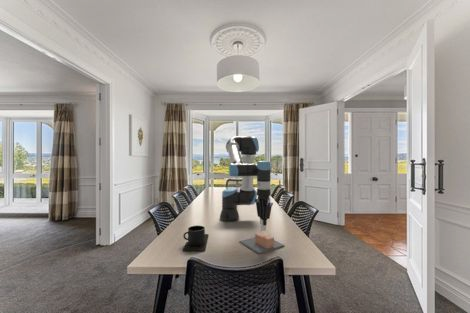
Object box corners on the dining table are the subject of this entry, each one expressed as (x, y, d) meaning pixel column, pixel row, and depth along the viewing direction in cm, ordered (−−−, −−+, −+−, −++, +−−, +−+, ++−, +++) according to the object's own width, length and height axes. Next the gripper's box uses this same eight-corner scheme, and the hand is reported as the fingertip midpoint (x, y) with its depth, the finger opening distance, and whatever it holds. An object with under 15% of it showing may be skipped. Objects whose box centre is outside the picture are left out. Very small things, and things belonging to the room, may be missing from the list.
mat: (239, 242, 131) (239, 240, 131) (263, 236, 141) (263, 234, 141) (259, 254, 116) (259, 252, 116) (284, 246, 126) (284, 244, 126)
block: (255, 233, 129) (266, 239, 121) (262, 232, 132) (273, 237, 123) (255, 242, 129) (266, 248, 121) (261, 240, 132) (273, 246, 124)
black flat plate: (176, 253, 118) (205, 252, 119) (176, 252, 118) (204, 250, 119) (185, 235, 143) (208, 234, 144) (185, 234, 143) (208, 233, 144)
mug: (184, 240, 133) (184, 225, 133) (205, 240, 134) (205, 225, 134) (182, 247, 124) (182, 231, 123) (204, 247, 124) (204, 230, 124)
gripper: (251, 187, 130) (251, 228, 130) (266, 190, 119) (265, 235, 119) (261, 186, 134) (261, 226, 134) (276, 189, 123) (276, 232, 123)
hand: (263, 230), depth 127 cm, fingers closed
